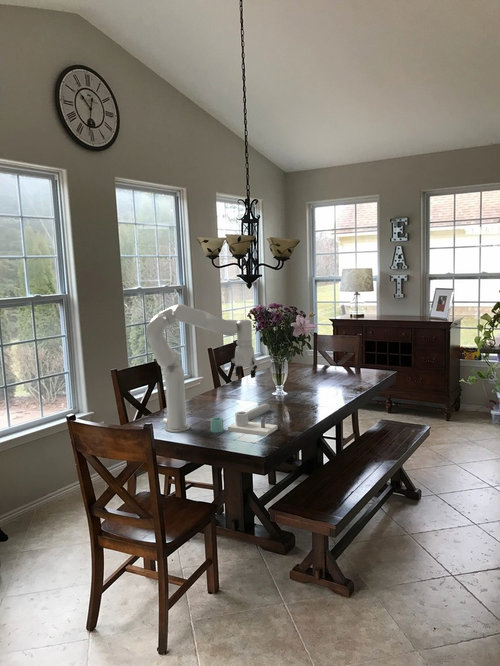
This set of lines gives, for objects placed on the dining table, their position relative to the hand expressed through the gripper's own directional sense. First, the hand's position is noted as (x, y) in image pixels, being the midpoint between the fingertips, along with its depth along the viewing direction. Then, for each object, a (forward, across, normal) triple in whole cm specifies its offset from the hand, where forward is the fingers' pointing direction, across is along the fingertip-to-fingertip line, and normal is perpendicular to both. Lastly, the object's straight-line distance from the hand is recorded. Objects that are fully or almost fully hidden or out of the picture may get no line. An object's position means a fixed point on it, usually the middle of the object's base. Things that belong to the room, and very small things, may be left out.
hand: (245, 376), depth 280 cm
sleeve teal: (+26, -6, -17) cm, 31 cm away
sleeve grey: (+23, +2, -7) cm, 25 cm away
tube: (+26, -4, +15) cm, 30 cm away
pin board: (+25, +8, -6) cm, 27 cm away
